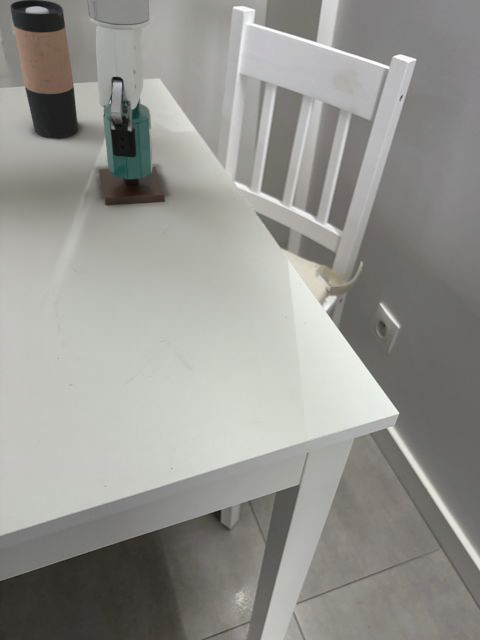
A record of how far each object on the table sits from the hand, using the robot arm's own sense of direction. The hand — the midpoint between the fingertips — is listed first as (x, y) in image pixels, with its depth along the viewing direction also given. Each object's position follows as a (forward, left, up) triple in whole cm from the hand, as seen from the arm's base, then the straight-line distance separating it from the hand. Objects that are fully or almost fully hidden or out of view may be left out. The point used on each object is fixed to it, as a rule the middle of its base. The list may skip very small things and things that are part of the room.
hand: (128, 143), depth 82 cm
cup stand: (0, 0, -7) cm, 7 cm away
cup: (0, 0, -4) cm, 4 cm away
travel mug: (-15, +16, -8) cm, 23 cm away
